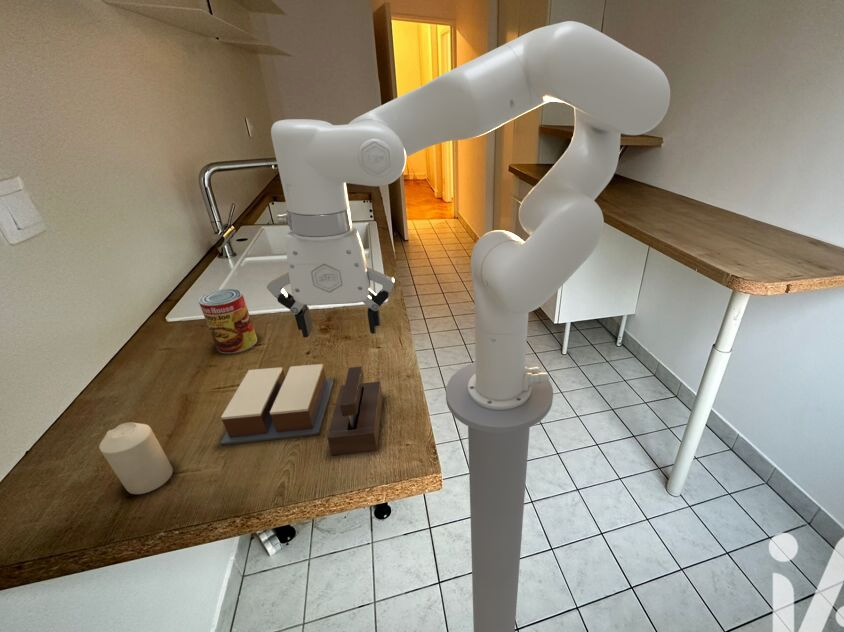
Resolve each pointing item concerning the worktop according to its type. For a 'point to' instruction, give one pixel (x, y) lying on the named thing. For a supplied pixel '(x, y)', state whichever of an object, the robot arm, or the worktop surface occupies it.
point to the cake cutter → (352, 395)
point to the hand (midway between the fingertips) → (341, 331)
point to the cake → (277, 404)
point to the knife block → (367, 427)
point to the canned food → (228, 320)
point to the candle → (136, 457)
